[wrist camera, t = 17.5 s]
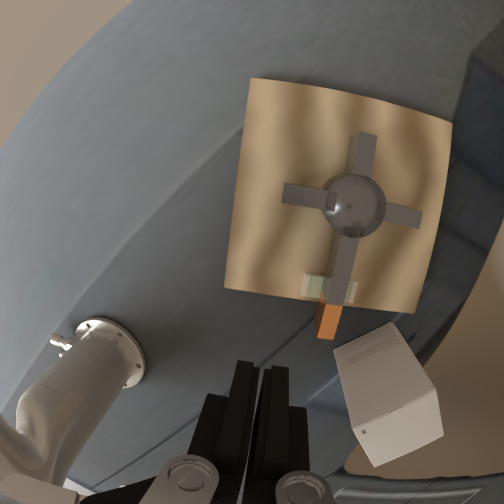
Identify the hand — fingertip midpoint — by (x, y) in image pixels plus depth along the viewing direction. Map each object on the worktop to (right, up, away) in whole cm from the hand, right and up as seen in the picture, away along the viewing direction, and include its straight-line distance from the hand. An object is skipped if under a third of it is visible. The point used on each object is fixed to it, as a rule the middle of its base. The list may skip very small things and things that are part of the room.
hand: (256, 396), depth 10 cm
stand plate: (+10, +11, +24) cm, 28 cm away
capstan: (+9, +7, +24) cm, 26 cm away
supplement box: (+16, -10, +29) cm, 35 cm away
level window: (+9, +1, +25) cm, 27 cm away
